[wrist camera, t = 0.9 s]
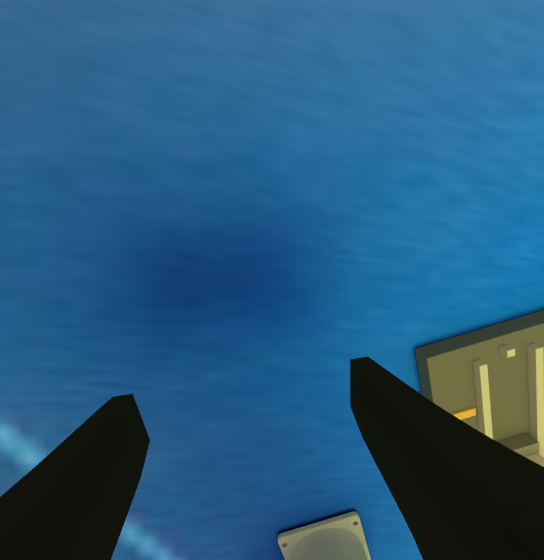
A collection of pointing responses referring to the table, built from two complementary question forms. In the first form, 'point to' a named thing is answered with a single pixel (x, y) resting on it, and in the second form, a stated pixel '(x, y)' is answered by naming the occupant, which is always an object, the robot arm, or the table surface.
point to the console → (490, 377)
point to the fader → (524, 447)
